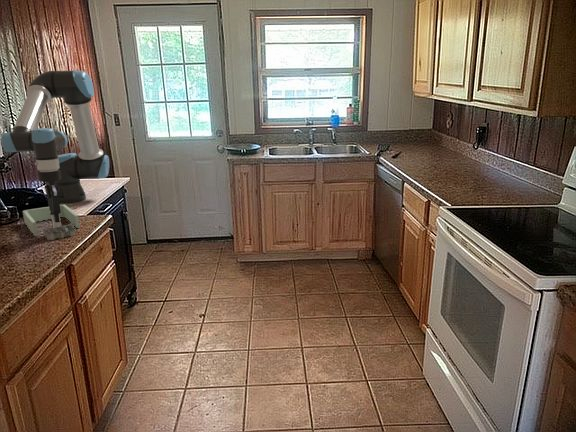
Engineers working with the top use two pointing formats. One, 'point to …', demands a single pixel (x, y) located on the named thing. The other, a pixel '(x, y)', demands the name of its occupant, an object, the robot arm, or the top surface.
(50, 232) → the egg carton
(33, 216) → the u-shaped frame
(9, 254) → the top surface
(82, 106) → the robot arm
